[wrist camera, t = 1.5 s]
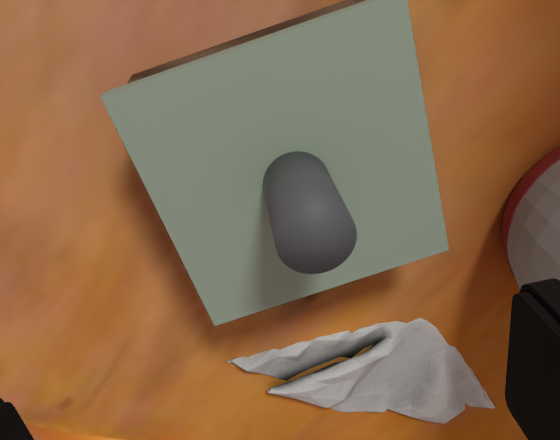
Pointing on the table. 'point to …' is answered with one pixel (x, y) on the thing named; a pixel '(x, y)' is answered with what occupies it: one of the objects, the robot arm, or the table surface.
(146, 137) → the lid
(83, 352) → the table surface
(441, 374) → the cloth
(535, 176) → the citrus juicer
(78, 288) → the table surface
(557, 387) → the robot arm
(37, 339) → the table surface
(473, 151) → the table surface
